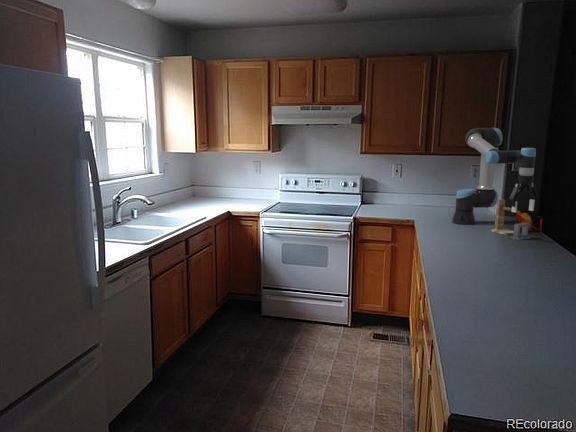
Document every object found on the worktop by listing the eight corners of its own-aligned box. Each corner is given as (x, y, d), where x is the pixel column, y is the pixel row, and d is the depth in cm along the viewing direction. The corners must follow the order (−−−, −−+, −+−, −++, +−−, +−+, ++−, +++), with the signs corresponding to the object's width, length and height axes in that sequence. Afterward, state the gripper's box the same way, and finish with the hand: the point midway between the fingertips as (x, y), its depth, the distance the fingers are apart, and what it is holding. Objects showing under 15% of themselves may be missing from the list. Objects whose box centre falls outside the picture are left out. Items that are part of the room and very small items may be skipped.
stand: (490, 231, 273) (493, 200, 270) (502, 229, 277) (505, 199, 273) (507, 235, 262) (510, 202, 258) (520, 234, 265) (522, 201, 261)
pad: (510, 237, 256) (510, 236, 256) (521, 236, 259) (521, 235, 259) (518, 239, 250) (519, 238, 250) (530, 238, 253) (530, 237, 253)
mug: (541, 232, 269) (543, 213, 267) (517, 231, 272) (519, 212, 270) (537, 229, 278) (538, 211, 276) (513, 228, 282) (515, 210, 280)
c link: (517, 238, 252) (518, 224, 250) (513, 237, 254) (514, 223, 253) (527, 237, 254) (528, 223, 253) (523, 236, 257) (524, 222, 256)
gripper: (515, 176, 240) (511, 213, 244) (547, 174, 249) (543, 210, 253) (504, 175, 247) (501, 211, 251) (536, 173, 256) (532, 208, 260)
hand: (522, 211), depth 252 cm, fingers open, 13 cm apart
